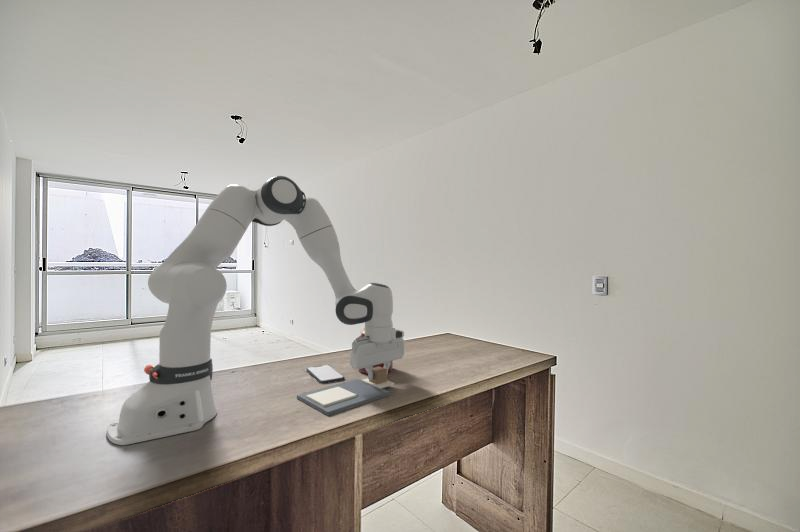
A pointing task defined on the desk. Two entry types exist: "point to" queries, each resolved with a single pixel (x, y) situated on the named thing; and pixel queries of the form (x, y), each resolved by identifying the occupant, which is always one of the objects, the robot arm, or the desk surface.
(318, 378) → the smartphone
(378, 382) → the tan cube with base
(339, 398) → the board
